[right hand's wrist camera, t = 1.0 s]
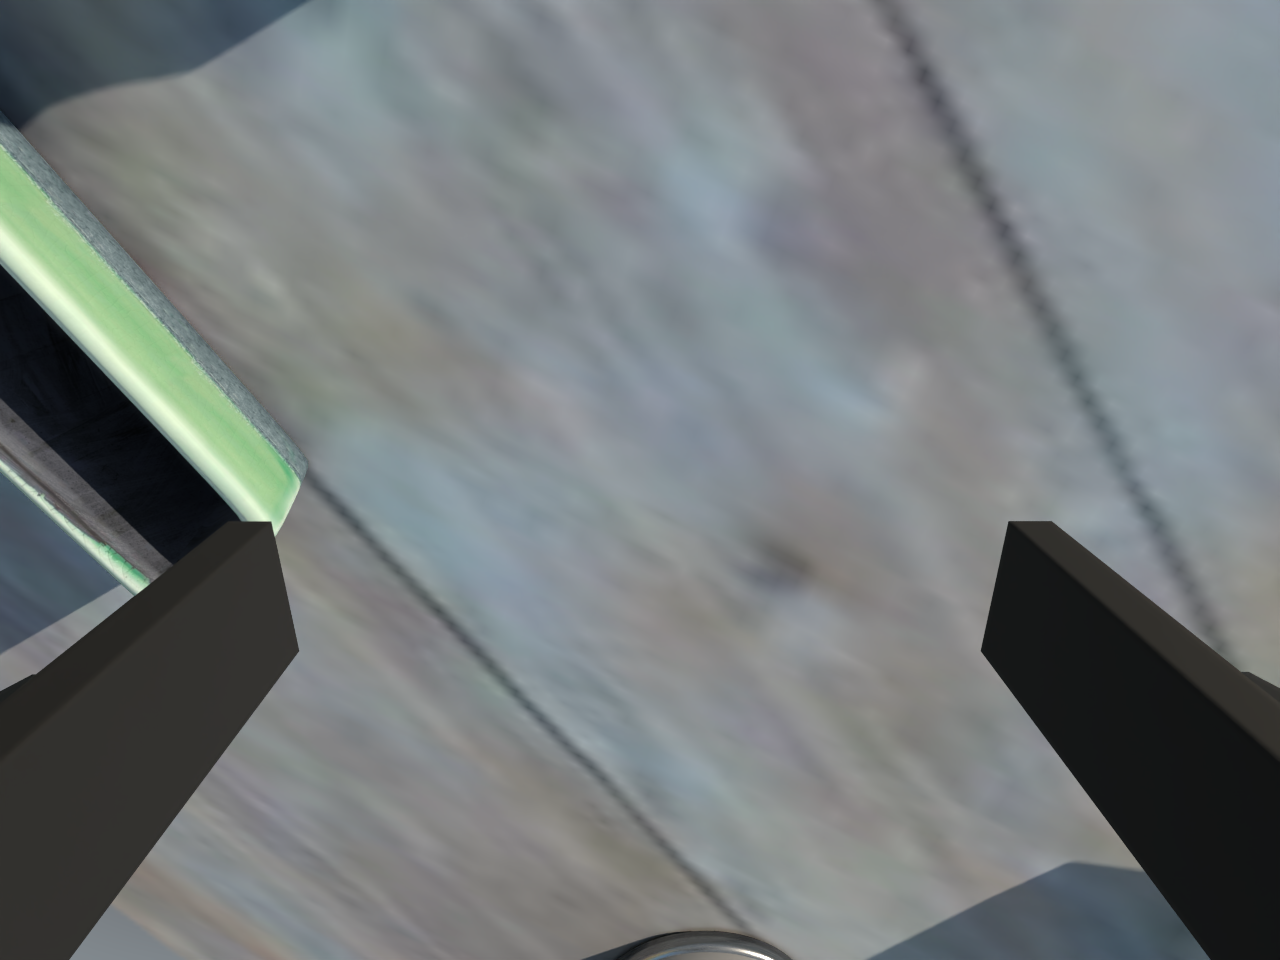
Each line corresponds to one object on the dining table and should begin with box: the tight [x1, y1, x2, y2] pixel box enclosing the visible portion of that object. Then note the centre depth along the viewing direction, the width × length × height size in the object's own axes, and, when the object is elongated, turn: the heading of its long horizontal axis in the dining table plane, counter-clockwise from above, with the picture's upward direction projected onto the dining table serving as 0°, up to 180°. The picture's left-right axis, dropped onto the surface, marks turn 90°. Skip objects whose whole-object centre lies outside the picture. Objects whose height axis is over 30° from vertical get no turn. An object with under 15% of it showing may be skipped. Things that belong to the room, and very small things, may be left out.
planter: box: [0, 110, 308, 596], centre depth 28 cm, size 28×7×7 cm, turn 33°
